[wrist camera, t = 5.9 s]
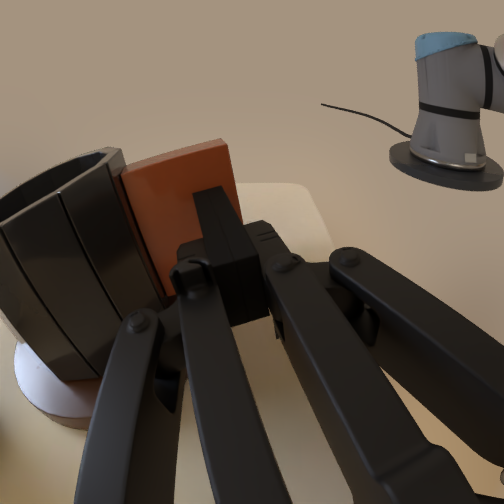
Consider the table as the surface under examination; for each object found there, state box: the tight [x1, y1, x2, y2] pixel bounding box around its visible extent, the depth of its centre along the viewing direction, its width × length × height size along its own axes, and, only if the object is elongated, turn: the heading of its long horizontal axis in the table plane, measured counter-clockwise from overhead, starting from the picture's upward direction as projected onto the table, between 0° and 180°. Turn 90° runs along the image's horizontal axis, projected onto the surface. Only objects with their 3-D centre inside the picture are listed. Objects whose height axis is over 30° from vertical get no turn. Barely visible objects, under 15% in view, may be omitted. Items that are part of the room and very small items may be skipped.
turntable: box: [14, 294, 188, 430], centre depth 18 cm, size 16×16×2 cm
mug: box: [0, 138, 244, 381], centre depth 15 cm, size 12×15×10 cm
